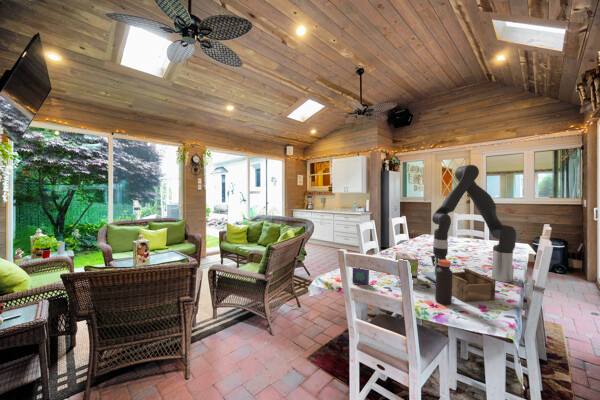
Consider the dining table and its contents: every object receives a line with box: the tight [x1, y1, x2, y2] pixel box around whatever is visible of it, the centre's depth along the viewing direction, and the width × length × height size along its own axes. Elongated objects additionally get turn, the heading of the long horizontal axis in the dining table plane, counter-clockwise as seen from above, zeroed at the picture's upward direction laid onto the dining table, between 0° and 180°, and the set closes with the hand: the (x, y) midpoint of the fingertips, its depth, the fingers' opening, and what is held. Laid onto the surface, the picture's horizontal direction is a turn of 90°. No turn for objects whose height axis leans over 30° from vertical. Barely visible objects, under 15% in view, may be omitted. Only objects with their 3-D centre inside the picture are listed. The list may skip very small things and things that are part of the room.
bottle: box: [434, 259, 453, 306], centre depth 118 cm, size 7×7×20 cm
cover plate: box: [421, 267, 438, 283], centre depth 148 cm, size 14×14×6 cm
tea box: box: [395, 252, 419, 285], centre depth 148 cm, size 15×10×15 cm
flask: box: [351, 267, 370, 286], centre depth 141 cm, size 9×3×11 cm, turn 68°
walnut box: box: [452, 268, 497, 303], centre depth 129 cm, size 18×17×10 cm
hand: (439, 275), depth 148 cm, fingers closed on cover plate, 3 cm apart
